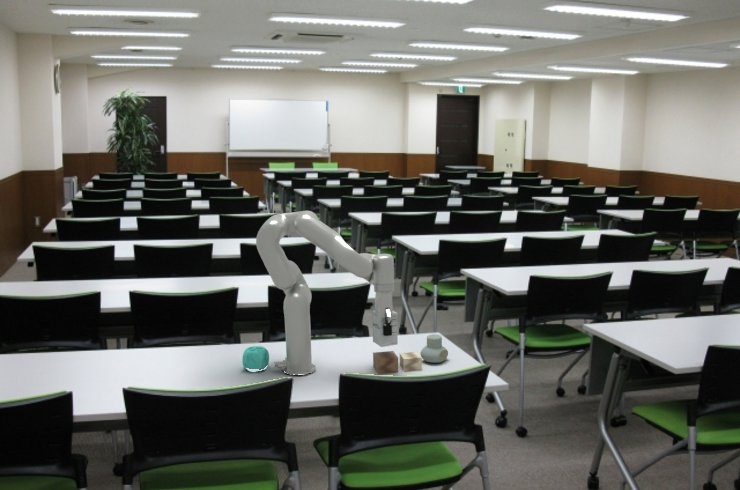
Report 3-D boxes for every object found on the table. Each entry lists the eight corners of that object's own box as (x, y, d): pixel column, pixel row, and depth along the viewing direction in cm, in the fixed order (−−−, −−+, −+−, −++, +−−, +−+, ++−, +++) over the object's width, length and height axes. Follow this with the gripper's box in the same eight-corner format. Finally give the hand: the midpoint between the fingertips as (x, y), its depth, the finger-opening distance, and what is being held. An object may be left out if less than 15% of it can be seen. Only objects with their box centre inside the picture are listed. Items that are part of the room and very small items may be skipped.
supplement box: (372, 342, 278) (371, 310, 275) (389, 339, 280) (389, 307, 278) (380, 347, 271) (379, 314, 269) (398, 344, 274) (397, 312, 272)
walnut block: (377, 374, 273) (377, 359, 272) (373, 367, 281) (373, 352, 280) (398, 372, 275) (398, 357, 274) (393, 365, 282) (393, 350, 281)
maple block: (403, 371, 276) (403, 359, 275) (399, 365, 282) (399, 353, 282) (421, 370, 277) (421, 357, 276) (417, 364, 284) (417, 351, 283)
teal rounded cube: (262, 373, 276) (261, 353, 275) (242, 372, 278) (241, 352, 276) (269, 366, 284) (268, 346, 282) (250, 365, 285) (249, 345, 284)
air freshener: (435, 366, 280) (435, 341, 278) (417, 362, 285) (417, 338, 283) (450, 359, 288) (450, 334, 287) (432, 355, 293) (432, 331, 291)
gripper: (369, 282, 279) (370, 326, 283) (379, 293, 263) (380, 339, 266) (388, 281, 281) (389, 324, 284) (399, 291, 264) (400, 338, 267)
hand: (384, 331), depth 275 cm, fingers closed on supplement box, 8 cm apart
